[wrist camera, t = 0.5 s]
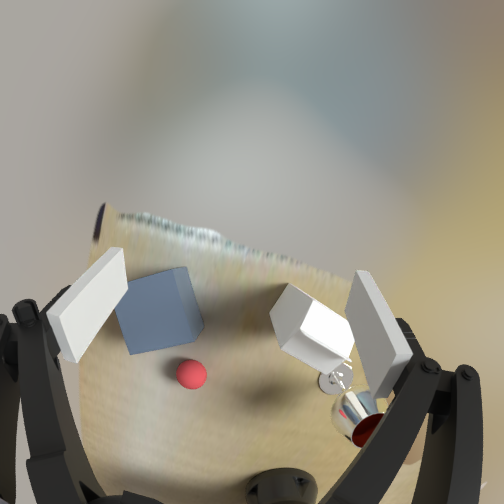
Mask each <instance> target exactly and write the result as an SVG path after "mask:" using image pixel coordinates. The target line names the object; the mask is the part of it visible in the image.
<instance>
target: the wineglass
mask: <svg viewBox="0 0 504 504" xmlns="http://www.w3.org/2000/svg"><path fill="white" fill-rule="evenodd" d="M352 381H353V371H352V369H351V367H350V366H349V365H347V364H345V363H341V364H340V365H339V366H337V367H336V368H335V369H334V370H332V371H331V372H330V373H329V374H327V375H325V374H323V373H321V374H320V377H319V385H320V388H321V389H322V390H323V391H324V392H325V393H327V394H332V395H334V394H339V393H341V394H340V395H339V396H338V397H337V398H336V400H335V401H334V403H333V405H332V408H331V413H330V418H331V422H332V425H333V427H334V428H335V430H336V431H337V432H338V433H339V434H340V435H341V436H342V437H344V438H345V439H346V440H348V441H349V442H350V443H352V444H353V445H354V446H356V447H358V448H363V446H364V445H365V443H366V442H367V440H368V439H369V437H370V436H371V434H372V433H373V431H374V430H375V428H376V427H377V425H378V424H379V422H380V420H381V419H382V417H383V415H384V414H385V412H386V409H387V408H388V404H387V401H386V399H385V398H379V399H372V396H371V393H370V389H369V386H368V385H356V386H353V387H350V388H348V387H349V386H350V385H351V383H352ZM347 388H348V389H347Z"/></svg>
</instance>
